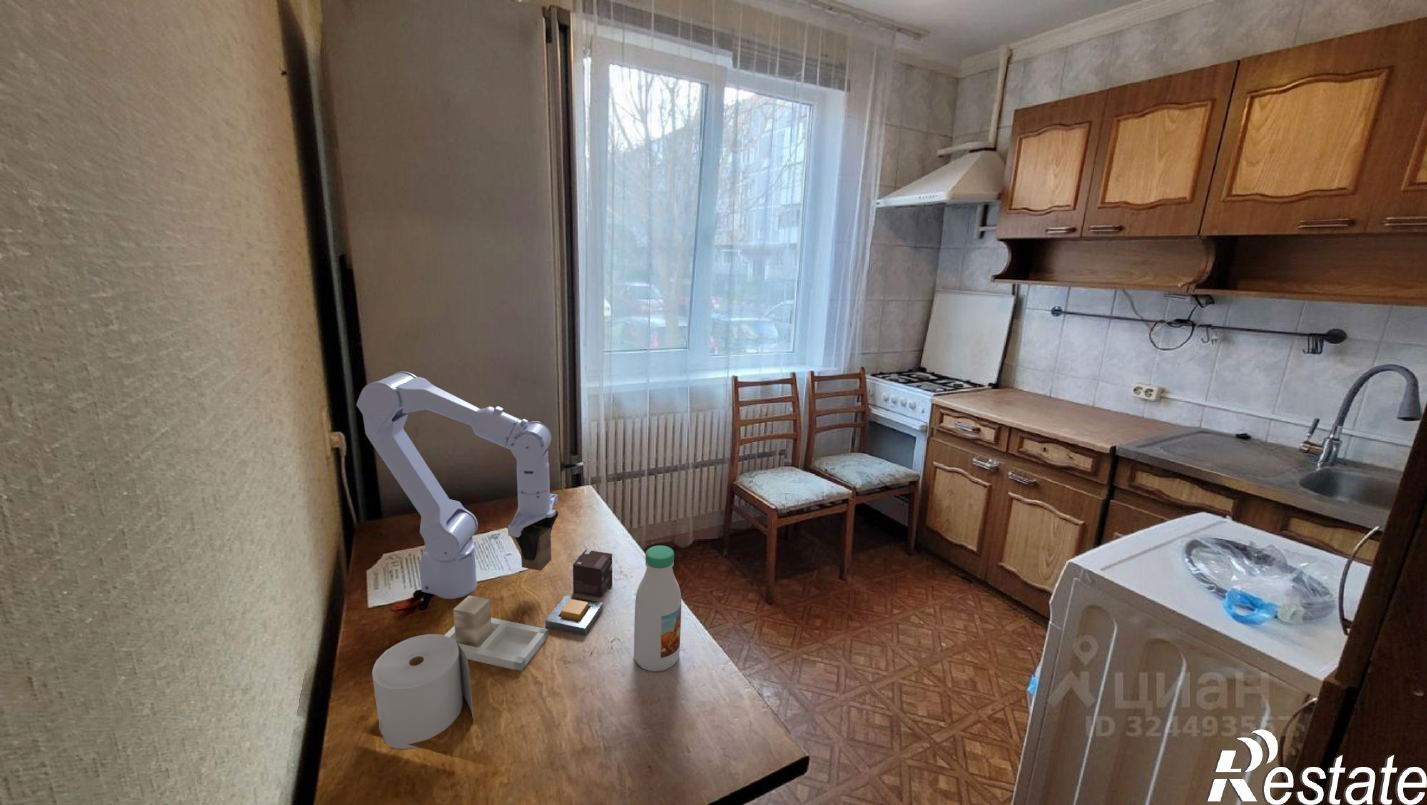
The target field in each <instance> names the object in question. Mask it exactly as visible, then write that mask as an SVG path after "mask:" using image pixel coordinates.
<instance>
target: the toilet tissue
mask: <svg viewBox="0 0 1427 805" xmlns="http://www.w3.org/2000/svg"><path fill="white" fill-rule="evenodd" d="M444 635H445V634H444ZM444 635H443V634H436V633H434V634H433V633H432V634H431V633H430V634H423V635H422V634H421V635H417V636H412V637H409V638H407V639H404V640H402V641H400V642H398V643H395V644H394V645H393V646H391V647H390V648H387V649H386V650H384V652H383V653H382V654H381V655H380V656H379V657H378V658H377V659H376V660H375V663H374V665H373V668H372V671H371V675H372V685H373V687H374V688H373V689H374V696H375V697H374V698H375V699H374V700H375V702H376V712H377V714H376V715H377V719H378V729H379V732H380V734H381V736H382V737H381V739H382V740H383V743H384V744H385V745H387V746H389V747H391V748H393V749H396V750H397V749H399V750H400V749H401V750H408V749H415V748H418V746H417V745H416V746H415V745H413V744H416V743H420V742H423V741H424V742H425V741H428V740H430V739H432V738H433V737H435V736H437V735H439V734H441V733H443V732H444V731H445V730H446V729H448V728H449V727H450V726H451V725H452V724H453V723H454V722H455V720H457V718H458V717H459V715H461V712H462V708H463V704H464V699H465V701H466V703H467V704H468V707H469V709H470V712H471V714H472V717H474V711H473V710H474V709H473V699H472V687H471V674H470V667H469V666H470V665H469V659H467V658H466V656H465V653H464V651H463V650H462V648H461V647H460V646H459V645H458V644H457V643H456V642H455V641H454V640H453V639H451V638H449V637H447V636H444ZM463 697H464V698H463Z"/></svg>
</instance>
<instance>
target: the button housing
mask: <svg viewBox="0 0 1427 805" xmlns="http://www.w3.org/2000/svg"><path fill="white" fill-rule="evenodd" d="M570 599H573V600H578V601H584V602H588V611H587V613H586V614H585V616H584V617H583V618H582V620H581V621H578V620H573V619H568V618H563V617H561V610H562V609H563V608H564V606H565V605H566V604H567V602H568V601H569V600H570ZM603 610H604V602H602V601H596V600H591V599H587V598H582V597H576V596H570V595H565V596H563V598H562V599H561V600H560V602H559V603H558V604H557V605H556V607H554V608H553V610H552V611H551V612H550V614H549V615H548V616H547V617H546V619H545V620H544V622H545V623H544V624H545V628H544V629H548V630H555V631H560V632H565V633H568V634H569V633H570V634H573V635H579V636H583V637H584V636H586V635H587V634H588V633H589V631H590V630H591V628H592V627H593V625H594V624H595V623H596V620H598V618H599V616H600V615H601V613H602V612H603Z"/></svg>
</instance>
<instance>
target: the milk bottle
mask: <svg viewBox="0 0 1427 805" xmlns="http://www.w3.org/2000/svg"><path fill="white" fill-rule="evenodd" d="M674 560H675V552H674V550H673V549H672V548H671V547H669V546H666V545H654V546H651V547H648V549H646V552H645V560H644V561H645V563H644V565H645V567H646V569H645V572H644V575H643V577H642V579H641V581H640V582H639V584H638V586H637V589H636V593H635V600H634V601H635V602H634V625H633V627H634V632H633V633H634V634H633V658H634V659H635V662H636V663H637V665H638V666H639V667H640V668H642V669H644V670H646V671H648V672H662V671H665V670H668V669H670V668H672V667H673V666H674V665H675V664H676V663H677V662H678V660H679V658H680V650H681V648H680V647H681V646H680V645H681V628H682V627H681V625H682V592H681V588H680V586H679V583H678V580H677V579H676V576H675V574H674V570H673V566H674V564H675V563H674Z"/></svg>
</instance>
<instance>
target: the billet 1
mask: <svg viewBox="0 0 1427 805" xmlns="http://www.w3.org/2000/svg"><path fill="white" fill-rule="evenodd" d="M465 597H466V596H465ZM452 612H453V620H454V625H455V636H456V643H459V644H464V645H468V646H473V647H477V648H479V647H480V646H481V645H482V644H483V642H484V641H485V640H486V639H487V638H488V637H489V636H490V635H491V634H492V627H491V618H492V615H491V614H492V613H491V599H489V598H484V597H480V596H474V595H469V594H468V595H467V597H466V598H464V599H463V600H462V601H461V602H459V603H458V604H457V605H456V606H455V607H454V608H453V611H452Z"/></svg>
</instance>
